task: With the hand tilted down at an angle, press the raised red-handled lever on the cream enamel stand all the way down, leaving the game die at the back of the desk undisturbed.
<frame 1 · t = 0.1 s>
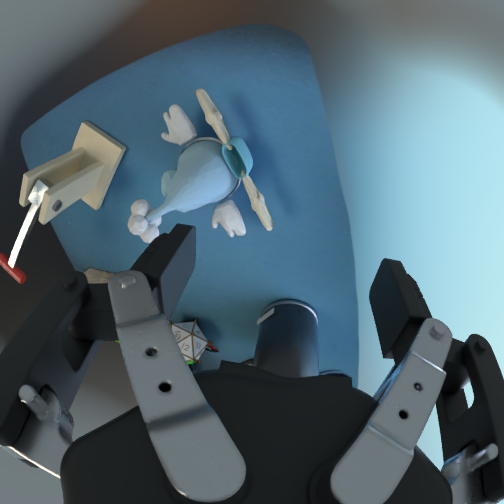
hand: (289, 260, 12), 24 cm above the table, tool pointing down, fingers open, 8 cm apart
game die: (191, 325, 50), on the table
red paper clip: (183, 338, 51), point 1 cm above the table
lever: (25, 230, 27), point 13 cm above the table, hinge at 28.0°
chess piece: (187, 371, 55), point 2 cm above the table, touching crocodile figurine
lever stand: (92, 164, 36), on the table
toy figure: (214, 163, 34), on the table
stone: (106, 274, 45), point 1 cm above the table
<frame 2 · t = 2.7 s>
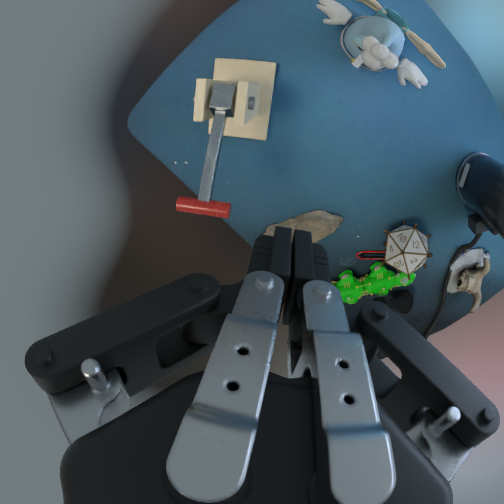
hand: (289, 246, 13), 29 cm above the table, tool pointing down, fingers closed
game die: (398, 235, 43), on the table
red paper clip: (395, 257, 44), point 1 cm above the table
lever: (214, 147, 26), point 13 cm above the table, hinge at 28.0°
chess piece: (405, 301, 47), point 2 cm above the table, touching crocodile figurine
lever stand: (242, 97, 35), on the table
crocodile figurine: (363, 277, 48), on the table, touching chess piece
toy figure: (364, 47, 29), on the table
stone: (295, 217, 42), point 1 cm above the table
skull: (466, 268, 43), on the table
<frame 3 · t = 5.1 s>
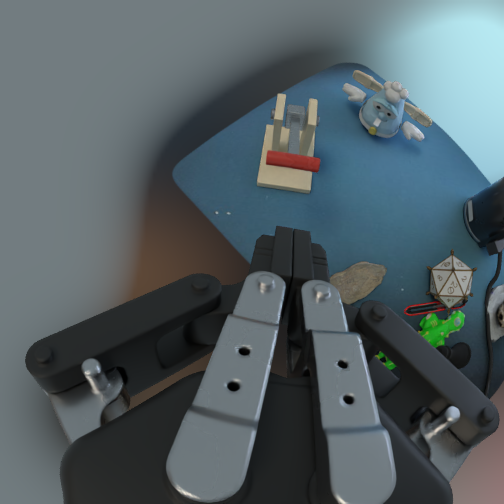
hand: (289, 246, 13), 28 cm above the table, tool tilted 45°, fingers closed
game die: (436, 284, 40), on the table
red paper clip: (440, 306, 38), point 1 cm above the table
lever: (294, 134, 30), point 13 cm above the table, hinge at 28.0°
chess piece: (460, 355, 35), point 2 cm above the table, touching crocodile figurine
lever stand: (287, 159, 44), on the table
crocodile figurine: (414, 340, 38), on the table, touching chess piece
toy figure: (374, 128, 46), on the table
stone: (343, 267, 39), point 1 cm above the table
skull: (498, 311, 38), on the table
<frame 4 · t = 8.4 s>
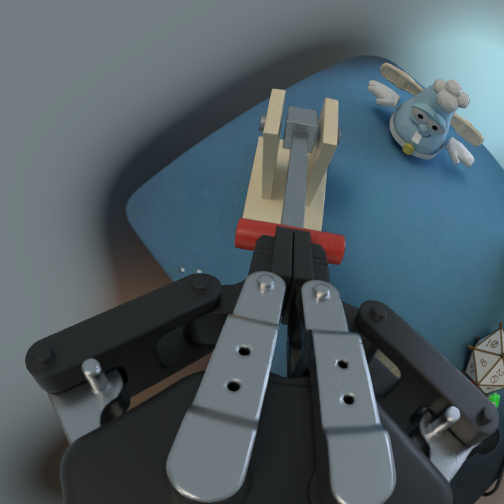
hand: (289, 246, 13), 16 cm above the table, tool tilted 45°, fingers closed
game die: (473, 359, 26), on the table
lever: (297, 167, 17), point 13 cm above the table, hinge at 24.2°, touching gripper
chess piece: (486, 438, 21), point 2 cm above the table, touching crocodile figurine
lever stand: (287, 188, 31), on the table
toy figure: (407, 143, 32), on the table
stone: (360, 354, 26), point 1 cm above the table
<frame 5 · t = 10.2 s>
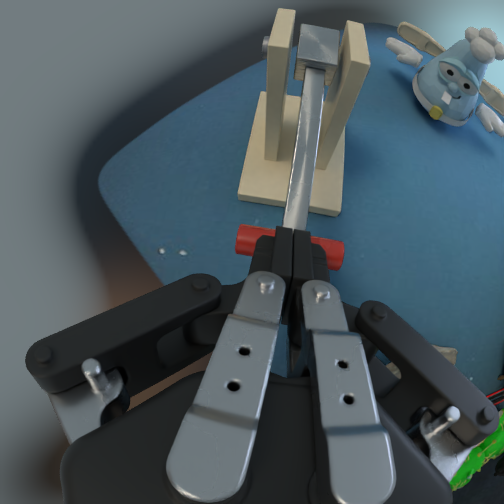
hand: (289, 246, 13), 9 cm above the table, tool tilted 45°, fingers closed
lever: (307, 131, 13), point 10 cm above the table, hinge at -15.4°, touching gripper
lever stand: (296, 150, 24), on the table
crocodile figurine: (471, 444, 17), on the table, touching chess piece
toy figure: (431, 111, 25), on the table
stone: (392, 361, 19), point 1 cm above the table
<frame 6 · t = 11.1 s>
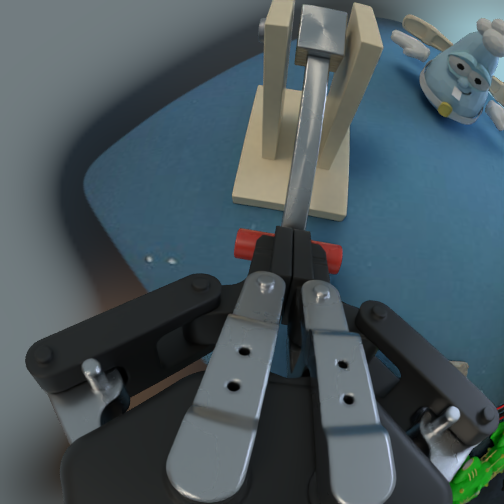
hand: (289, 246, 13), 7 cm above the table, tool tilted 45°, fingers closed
lever: (308, 130, 12), point 9 cm above the table, hinge at -27.3°, touching gripper
lever stand: (296, 148, 22), on the table
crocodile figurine: (478, 458, 15), on the table, touching chess piece
toy figure: (439, 108, 23), on the table
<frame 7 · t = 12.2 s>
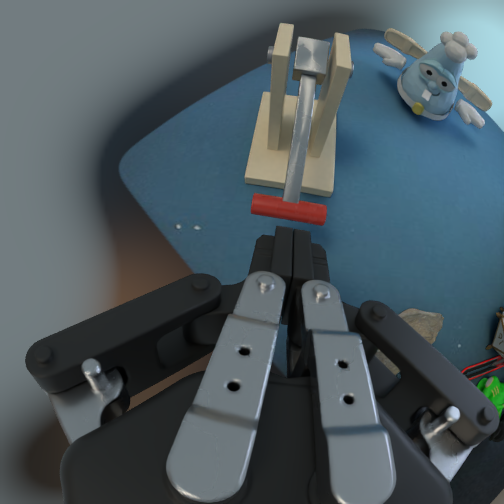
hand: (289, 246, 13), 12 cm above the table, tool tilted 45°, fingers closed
game die: (498, 333, 23), on the table
red paper clip: (500, 362, 21), point 1 cm above the table
lever: (301, 125, 18), point 9 cm above the table, hinge at -27.4°
lever stand: (294, 142, 27), on the table
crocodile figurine: (465, 412, 21), on the table, touching chess piece
toy figure: (415, 108, 29), on the table
stone: (383, 321, 22), point 1 cm above the table
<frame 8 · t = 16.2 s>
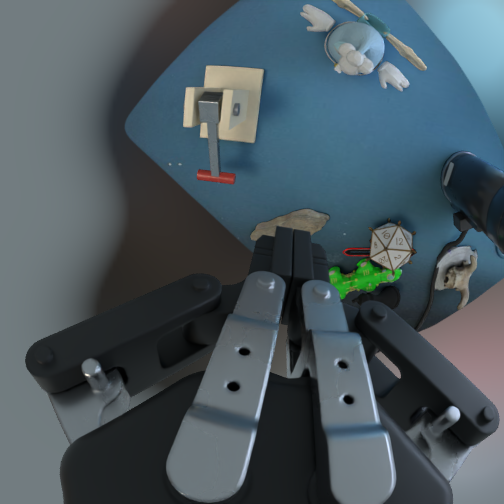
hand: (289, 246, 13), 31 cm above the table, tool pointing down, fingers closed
game die: (384, 233, 45), on the table
red paper clip: (381, 253, 46), point 1 cm above the table
lever: (213, 142, 32), point 9 cm above the table, hinge at -27.4°
chess piece: (392, 297, 49), point 2 cm above the table, touching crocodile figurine
lever stand: (231, 102, 37), on the table
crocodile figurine: (350, 274, 50), on the table, touching chess piece
toy figure: (348, 52, 31), on the table
stone: (283, 216, 44), point 1 cm above the table
skull: (453, 265, 46), on the table
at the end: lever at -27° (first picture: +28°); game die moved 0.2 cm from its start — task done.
